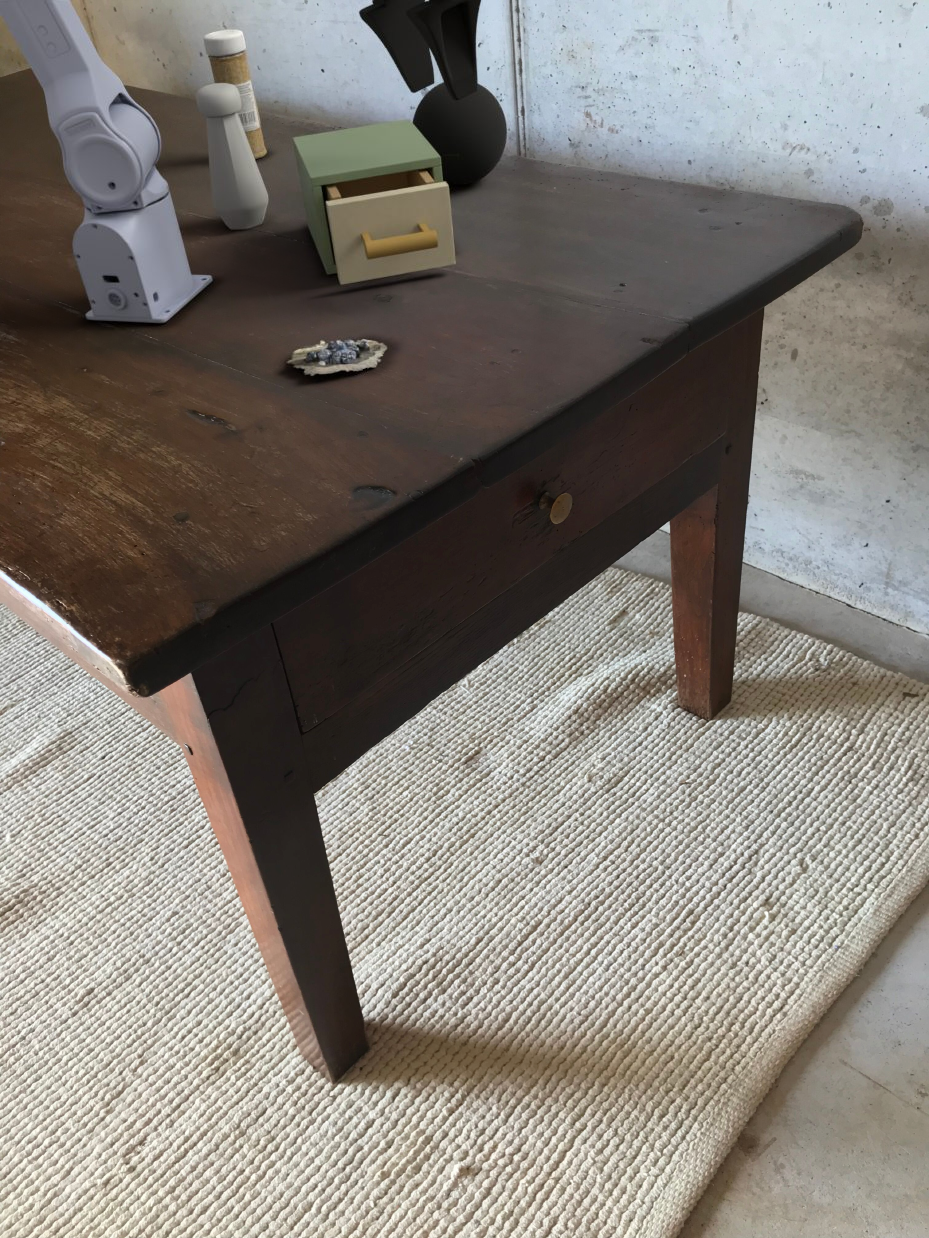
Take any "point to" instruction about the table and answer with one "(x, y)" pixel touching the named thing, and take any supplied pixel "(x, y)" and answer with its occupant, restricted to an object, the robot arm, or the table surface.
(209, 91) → the salt shaker
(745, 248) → the table surface
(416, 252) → the drawer
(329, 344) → the blueberries
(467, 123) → the black sphere
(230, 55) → the sprinkles bottle
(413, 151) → the cabinet
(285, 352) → the table surface
